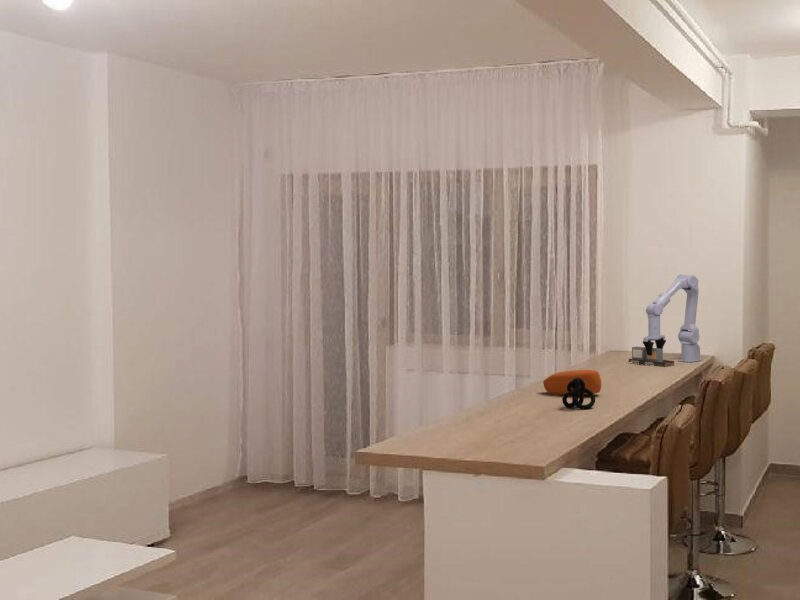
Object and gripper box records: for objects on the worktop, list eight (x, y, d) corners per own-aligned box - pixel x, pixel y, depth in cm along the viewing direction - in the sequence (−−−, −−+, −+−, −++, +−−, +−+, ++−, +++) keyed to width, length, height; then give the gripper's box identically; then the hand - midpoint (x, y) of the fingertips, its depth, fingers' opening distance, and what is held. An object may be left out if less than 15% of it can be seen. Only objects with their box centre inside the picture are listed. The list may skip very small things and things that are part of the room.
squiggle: (579, 422, 422) (580, 397, 434) (597, 408, 416) (599, 383, 428) (557, 405, 419) (559, 381, 431) (575, 391, 413) (578, 367, 425)
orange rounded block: (540, 399, 456) (596, 396, 443) (537, 374, 456) (594, 370, 443) (550, 395, 466) (606, 392, 454) (547, 370, 466) (603, 367, 454)
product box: (651, 361, 546) (651, 347, 546) (662, 362, 541) (662, 348, 540) (646, 362, 544) (646, 348, 543) (657, 363, 538) (657, 349, 538)
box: (637, 360, 553) (637, 346, 553) (648, 361, 548) (648, 347, 547) (631, 360, 551) (631, 347, 550) (642, 362, 545) (642, 348, 545)
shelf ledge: (638, 361, 555) (638, 357, 555) (674, 365, 538) (674, 361, 537) (628, 363, 550) (628, 358, 550) (663, 367, 533) (663, 362, 532)
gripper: (657, 326, 549) (657, 352, 549) (638, 328, 540) (638, 355, 540) (668, 326, 543) (668, 353, 544) (649, 329, 534) (650, 356, 535)
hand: (654, 354), depth 542 cm, fingers open, 7 cm apart
